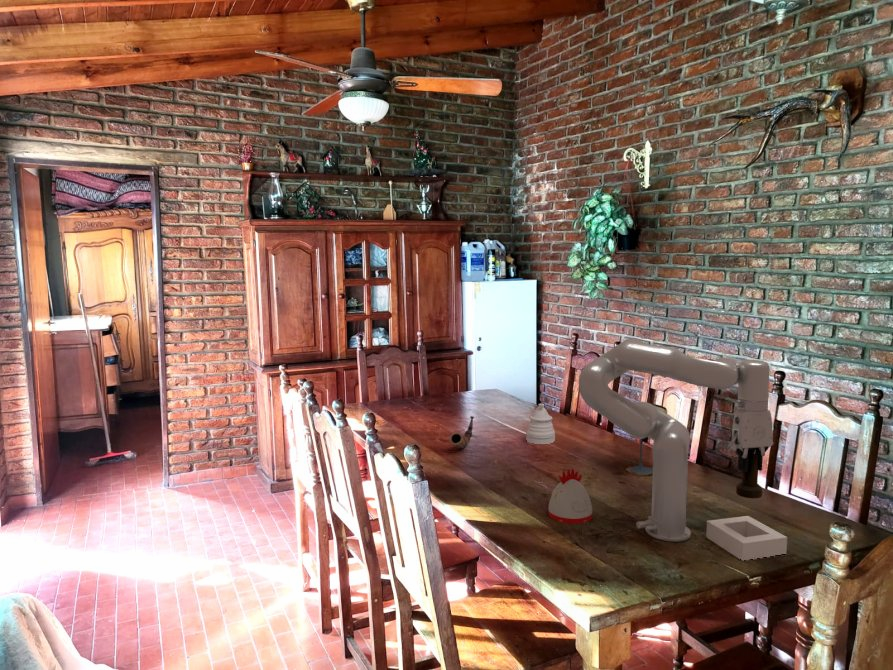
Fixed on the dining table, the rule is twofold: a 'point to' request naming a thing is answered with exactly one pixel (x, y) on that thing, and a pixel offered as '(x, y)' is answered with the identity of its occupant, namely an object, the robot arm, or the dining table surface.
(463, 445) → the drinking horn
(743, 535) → the socket
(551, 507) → the kitchen timer
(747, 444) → the robot arm
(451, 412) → the dining table surface
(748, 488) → the pepper mill
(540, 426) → the honey pot
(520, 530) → the dining table surface
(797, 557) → the dining table surface
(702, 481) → the dining table surface
